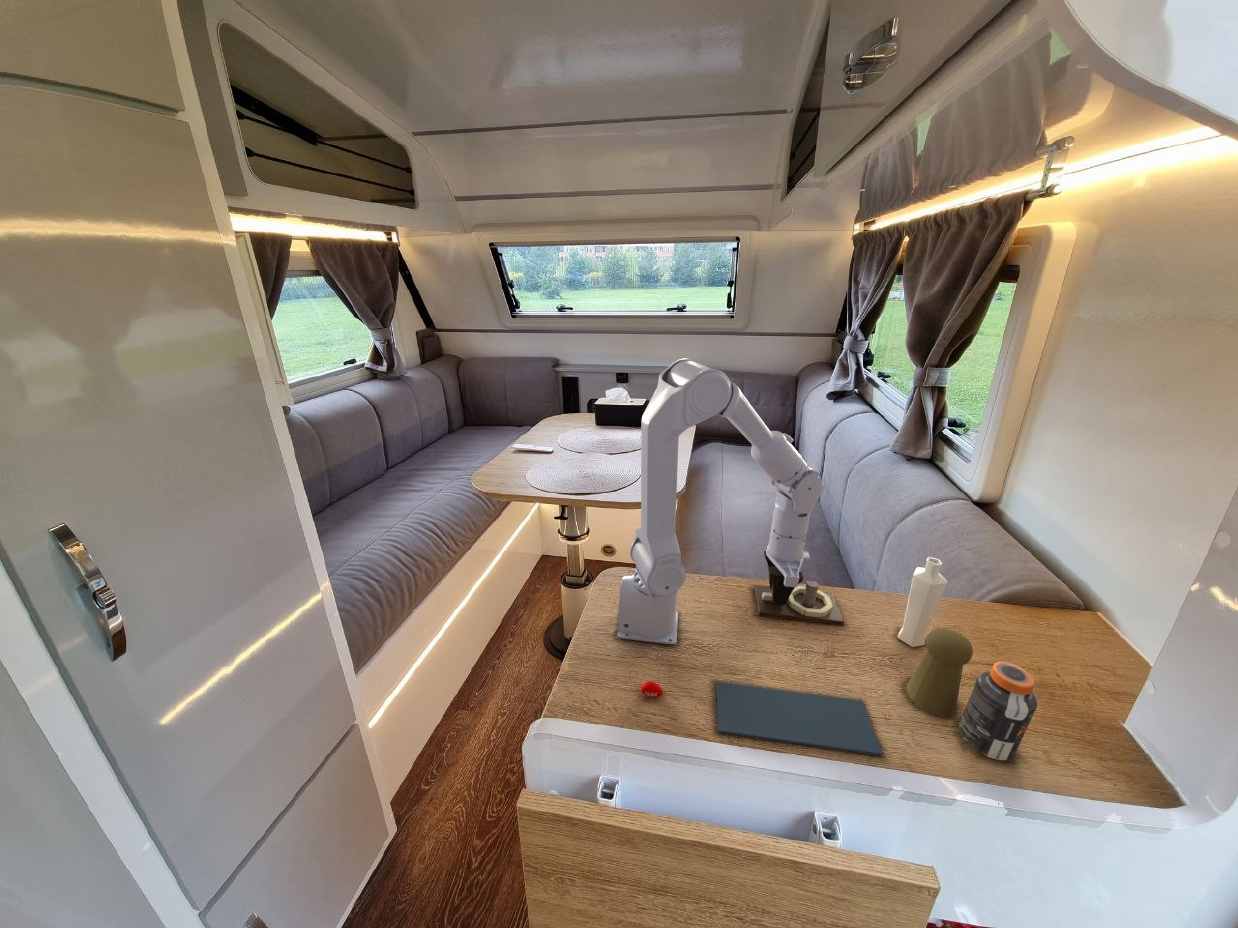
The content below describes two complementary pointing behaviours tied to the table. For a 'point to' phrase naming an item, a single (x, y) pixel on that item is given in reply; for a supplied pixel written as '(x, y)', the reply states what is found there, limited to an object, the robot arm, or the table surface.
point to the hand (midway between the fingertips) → (777, 596)
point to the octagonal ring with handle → (803, 610)
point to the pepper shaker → (940, 672)
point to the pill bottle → (999, 711)
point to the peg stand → (803, 599)
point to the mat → (795, 718)
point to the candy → (652, 689)
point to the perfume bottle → (922, 602)
